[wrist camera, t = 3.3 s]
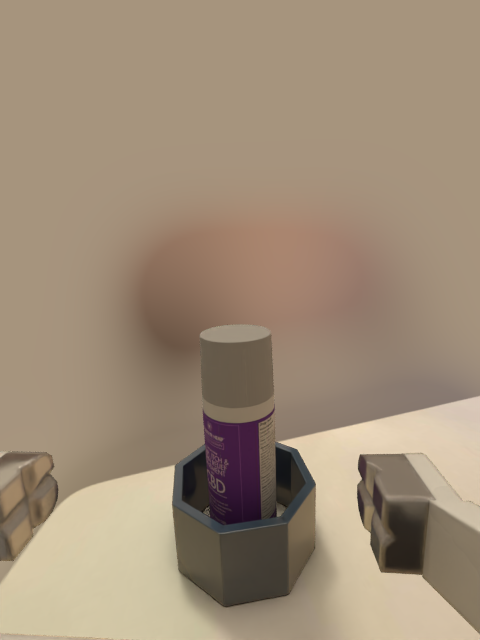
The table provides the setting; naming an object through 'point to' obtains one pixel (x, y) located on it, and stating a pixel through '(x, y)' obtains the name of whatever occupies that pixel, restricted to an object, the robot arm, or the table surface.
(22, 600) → the table surface
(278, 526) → the octagonal ring
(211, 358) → the container
